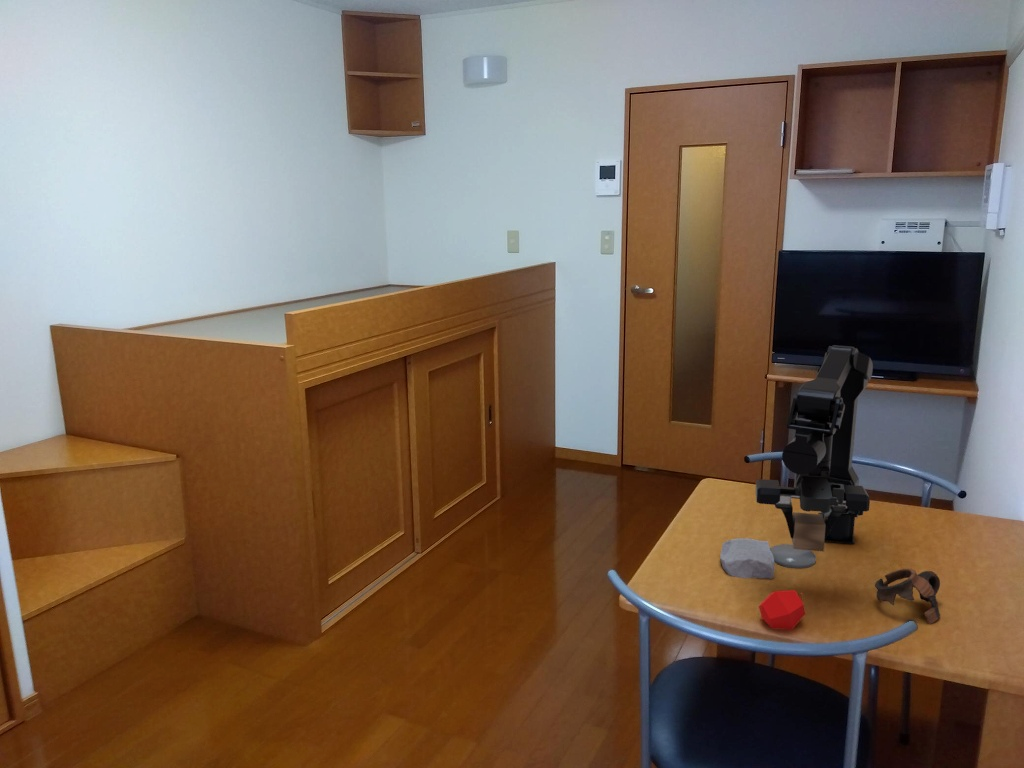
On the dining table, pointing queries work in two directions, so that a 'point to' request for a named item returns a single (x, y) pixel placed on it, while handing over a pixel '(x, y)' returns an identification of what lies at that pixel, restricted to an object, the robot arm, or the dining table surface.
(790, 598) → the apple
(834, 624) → the dining table surface
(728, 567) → the stone block
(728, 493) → the dining table surface
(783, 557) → the slate coaster
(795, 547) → the walnut cube
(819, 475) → the robot arm
